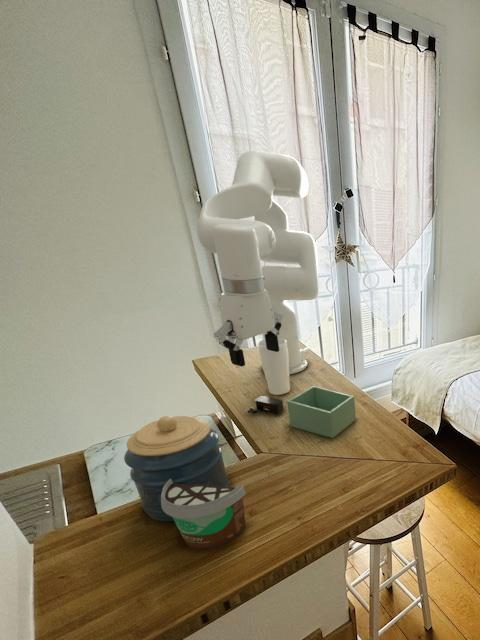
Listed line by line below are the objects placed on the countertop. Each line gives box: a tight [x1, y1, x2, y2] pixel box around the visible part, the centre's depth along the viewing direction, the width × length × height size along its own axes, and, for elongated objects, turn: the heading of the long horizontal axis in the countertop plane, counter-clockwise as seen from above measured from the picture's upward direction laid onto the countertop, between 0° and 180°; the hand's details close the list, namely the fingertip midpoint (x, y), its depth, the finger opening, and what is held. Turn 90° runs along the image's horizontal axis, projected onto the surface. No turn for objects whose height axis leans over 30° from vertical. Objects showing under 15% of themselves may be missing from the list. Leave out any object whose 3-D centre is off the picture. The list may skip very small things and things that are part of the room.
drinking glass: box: [257, 338, 291, 396], centre depth 109 cm, size 7×7×15 cm
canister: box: [123, 415, 230, 522], centre depth 70 cm, size 13×13×18 cm
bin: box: [286, 385, 357, 439], centre depth 99 cm, size 9×12×7 cm
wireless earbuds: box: [247, 395, 285, 416], centre depth 101 cm, size 5×7×3 cm, turn 79°
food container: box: [161, 479, 247, 550], centre depth 64 cm, size 12×6×10 cm, turn 91°
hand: (256, 357), depth 93 cm, fingers open, 9 cm apart
